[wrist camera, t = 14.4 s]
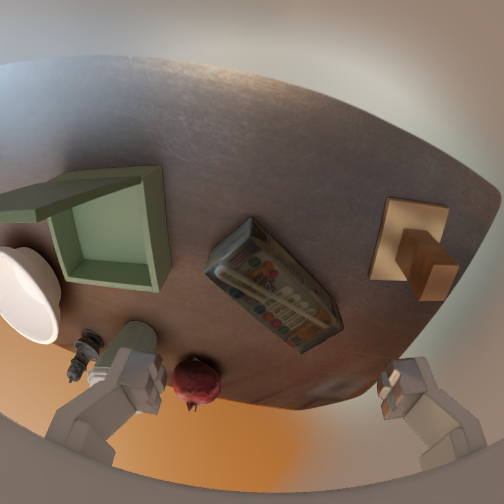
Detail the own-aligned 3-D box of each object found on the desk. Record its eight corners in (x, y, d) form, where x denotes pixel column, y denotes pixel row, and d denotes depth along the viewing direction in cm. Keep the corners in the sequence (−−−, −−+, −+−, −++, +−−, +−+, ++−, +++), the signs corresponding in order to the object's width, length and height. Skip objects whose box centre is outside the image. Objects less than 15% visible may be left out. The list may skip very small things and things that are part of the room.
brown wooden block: (403, 227, 34) (434, 264, 26) (427, 230, 34) (459, 265, 26) (394, 260, 36) (419, 301, 28) (417, 261, 36) (444, 300, 28)
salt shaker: (107, 351, 52) (86, 395, 42) (84, 344, 52) (62, 385, 42) (102, 333, 49) (77, 379, 39) (78, 325, 49) (52, 368, 39)
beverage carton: (252, 211, 35) (249, 236, 29) (339, 302, 42) (348, 333, 36) (209, 249, 38) (199, 277, 32) (298, 327, 45) (301, 359, 39)
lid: (36, 223, 13) (34, 209, 12) (-58, 224, 13) (-59, 215, 13) (141, 183, 27) (141, 175, 27) (37, 189, 28) (37, 183, 28)
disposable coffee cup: (105, 319, 47) (71, 381, 34) (143, 302, 44) (108, 374, 31) (141, 355, 51) (118, 417, 38) (181, 344, 48) (161, 415, 35)
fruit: (193, 344, 48) (181, 389, 39) (233, 368, 51) (228, 413, 42) (167, 362, 52) (154, 404, 43) (205, 384, 55) (197, 425, 46)
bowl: (-4, 262, 43) (-26, 283, 36) (20, 204, 36) (-11, 225, 29) (56, 329, 51) (39, 355, 44) (96, 291, 44) (74, 323, 37)
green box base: (172, 267, 40) (159, 292, 35) (83, 260, 41) (65, 281, 35) (161, 165, 33) (143, 178, 28) (64, 172, 33) (39, 185, 28)
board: (386, 197, 33) (389, 199, 32) (446, 205, 33) (449, 208, 32) (367, 275, 39) (369, 279, 38) (423, 277, 39) (425, 281, 38)
